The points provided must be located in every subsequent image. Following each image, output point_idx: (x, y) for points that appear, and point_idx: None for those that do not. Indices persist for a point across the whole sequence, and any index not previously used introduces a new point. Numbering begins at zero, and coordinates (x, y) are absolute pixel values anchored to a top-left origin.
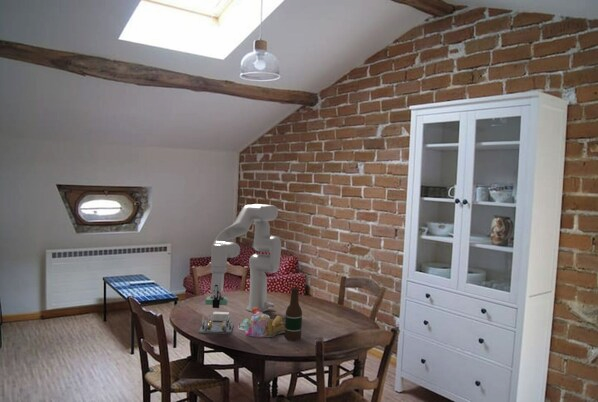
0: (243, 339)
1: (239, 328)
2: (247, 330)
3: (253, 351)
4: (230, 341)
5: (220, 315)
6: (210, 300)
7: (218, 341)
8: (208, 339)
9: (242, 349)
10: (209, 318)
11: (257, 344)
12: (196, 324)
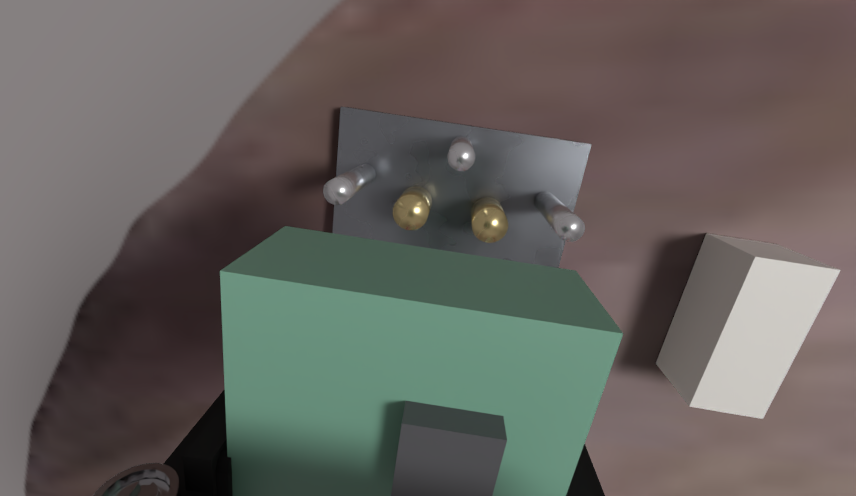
0: None
1: None
2: None
3: (48, 449)
4: (183, 346)
5: (710, 328)
6: (233, 383)
7: (171, 269)
8: (202, 195)
9: (62, 400)
10: (548, 220)
11: None
12: (617, 68)
